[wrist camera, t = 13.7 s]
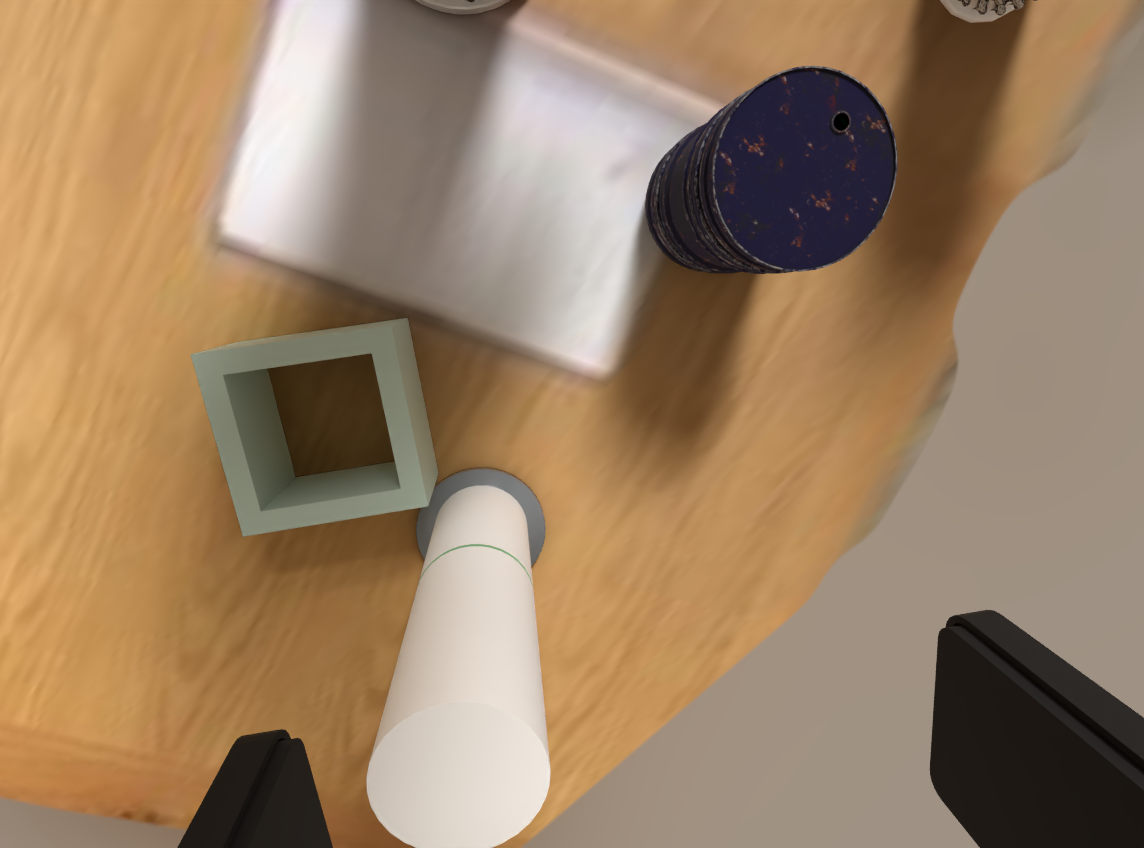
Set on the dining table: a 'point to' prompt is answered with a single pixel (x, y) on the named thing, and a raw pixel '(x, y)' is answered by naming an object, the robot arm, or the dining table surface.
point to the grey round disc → (483, 479)
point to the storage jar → (777, 178)
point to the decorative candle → (981, 9)
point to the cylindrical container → (466, 688)
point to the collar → (260, 446)
